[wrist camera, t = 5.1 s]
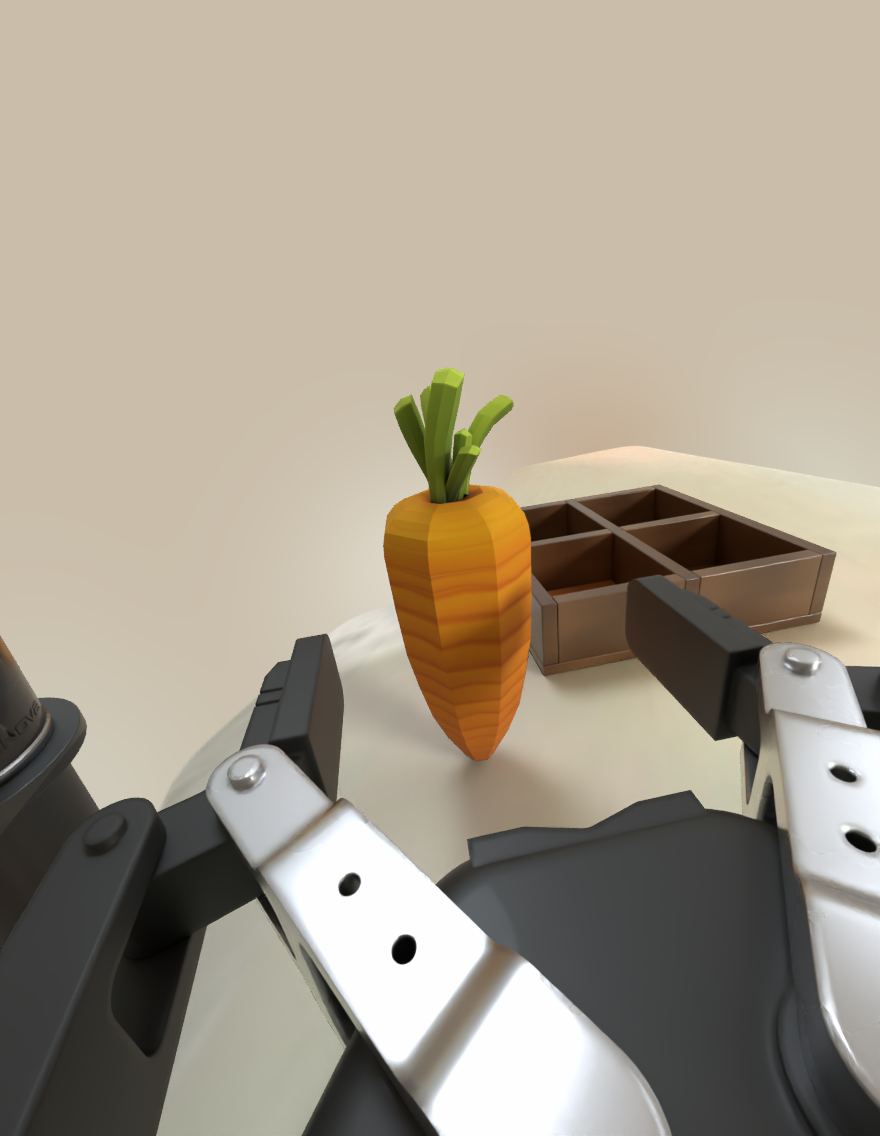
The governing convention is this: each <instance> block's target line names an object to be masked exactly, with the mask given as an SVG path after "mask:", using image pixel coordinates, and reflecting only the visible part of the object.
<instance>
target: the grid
mask: <svg viewBox="0 0 880 1136" xmlns="http://www.w3.org/2000/svg"><path fill="white" fill-rule="evenodd" d="M521 510H522V511H523V512H524V513H525V516H526V519H527V522H528V524H529V529H530V536H531V585H532V596H531V640H530V647H529V650H530V652H531V653H532V655H533V657H534V659H535V660H536V662H537V664H538V665H539V667H540V669H541V671H542V672H543V674H544V675H550V674H555V673H560V672H565V671H570V670H575V669H581V668H586V667H591V666H596V665H601V664H606V663H611V662H616V661H621V660H627V659H632V658H637V657H636V656H635V655H634V654H633V652H632V651H631V650H630V648H629V646H628V643H627V640H626V636H625V617H626V597H627V586H628V583H629V581H630V580H632V579H637V578H643V577H648V576H654V575H662V576H664V577H665V578H666V579H668V580H669V581H671V582H672V583H674V584H675V585H677V586H678V587H679V588H681V589H685V590H688V591H691V592H693V593H696V594H699V595H702V596H704V597H706V598H707V599H709V600H710V601H711V602H713V603H714V604H716V605H717V606H719V609H723V610H725V611H726V612H728V613H729V614H731V616H732V617H735V618H737V619H738V620H740V621H741V622H743V623H744V624H746V625H747V626H749V627H750V628H752V629H753V630H755V631H756V632H758V633H764V632H769V631H775V630H780V629H785V628H790V627H795V626H800V625H805V624H810V623H815V622H819V621H820V617H821V612H822V609H823V605H824V601H825V597H826V593H827V589H828V585H829V581H830V577H831V573H832V569H833V565H834V561H835V557H836V552H834V551H832V550H829V549H826V548H824V547H821V546H819V545H816V544H813V543H811V542H808V541H805V540H803V539H800V538H798V537H795V536H792V535H790V534H787V533H785V532H782V531H779V530H777V529H774V528H771V527H769V526H766V525H764V524H761V523H758V522H756V521H753V520H751V519H748V518H745V517H743V516H740V515H737V514H735V513H732V512H730V511H727V510H724V509H722V508H719V507H717V506H714V505H711V504H709V503H706V502H703V501H701V500H698V499H696V498H693V497H690V496H688V495H685V494H682V493H680V492H677V491H675V490H672V489H669V488H667V487H664V486H662V485H654V486H648V487H642V488H636V489H630V490H624V491H618V492H612V493H606V494H600V495H594V496H588V497H582V498H576V499H570V500H564V501H557V502H551V503H545V504H539V505H533V506H527V507H521Z"/></svg>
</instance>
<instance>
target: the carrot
mask: <svg viewBox="0 0 880 1136" xmlns="http://www.w3.org/2000/svg"><path fill="white" fill-rule="evenodd" d="M463 379H464V373H462V372H460V371H458V370H456V369H454V368H445V369H439V370H438V371H436V372H435V374H434V377H433V380H432V384H431V386H428V387H427V388H426V389H424V390H423V392H422V394H421V395H420V398H421V407H422V412H423V417H424V422H425V428H424V425H423V422H422V419H421V417H420V414H419V411H418V409H417V406H416V404H415V402H414V399H413V397H412V395H410V396H407V397H405V398H402V399H401V400H400V401H399V402H398V403H397V405H396V406H395V408H394V412H395V416H396V419H397V421H398V424H399V427H400V429H401V432H402V434H403V436H404V438H405V440H406V442H407V444H408V446H409V448H410V450H411V452H412V454H413V455H414V457H415V459H416V460H417V462H418V464H419V466H420V468H421V470H422V471H423V473H424V475H425V477H426V478H427V481H428V483H429V489H428V490H425V491H423V492H420V493H418V494H415V495H413V496H410V497H408V498H405V499H403V500H402V501H400V502H399V503H397V504H396V505H394V507H393V508H392V509H391V511H390V512H389V514H388V515H387V520H386V527H385V535H384V545H383V547H384V558H385V563H386V567H387V572H388V577H389V581H390V586H391V590H392V595H393V599H394V604H395V609H396V613H397V617H398V621H399V625H400V629H401V633H402V637H403V640H404V644H405V648H406V652H407V656H408V659H409V661H410V664H411V666H412V669H413V671H414V674H415V676H416V679H417V682H418V684H419V687H420V689H421V691H422V693H423V696H424V698H425V700H426V702H427V704H428V706H429V709H430V711H431V713H432V715H433V717H434V718H435V720H436V721H437V722H438V724H439V725H440V727H441V728H442V729H443V731H444V732H445V733H446V735H447V736H448V738H449V739H450V740H451V741H452V742H453V743H454V744H455V745H457V746H458V747H459V748H460V749H461V750H462V751H463V752H464V753H465V754H466V755H467V756H468V757H470V758H472V759H474V760H475V761H481V760H487V759H488V758H489V757H490V756H491V755H492V754H493V753H494V751H495V750H496V748H497V747H498V745H499V743H500V742H501V740H502V739H503V737H504V736H505V734H506V732H507V731H508V729H509V727H510V725H511V722H512V720H513V717H514V715H515V713H516V710H517V708H518V706H519V703H520V698H521V693H522V688H523V683H524V678H525V673H526V667H527V660H528V653H529V647H530V640H531V596H532V585H531V536H530V529H529V524H528V522H527V519H526V516H525V513H524V512H523V511H522V510H521V508H520V507H519V506H518V505H517V503H516V502H515V501H514V500H513V498H512V497H510V496H509V495H508V494H507V493H506V492H505V491H503V490H501V489H498V488H496V487H491V486H480V485H469V480H470V475H471V470H472V467H473V466H474V464H475V462H476V460H477V457H478V456H479V453H480V451H481V448H480V446H481V444H482V442H483V440H484V438H485V437H486V436H487V434H488V433H489V431H490V430H491V428H492V427H493V425H494V424H496V423H497V422H498V421H499V420H500V419H501V418H503V417H504V416H505V415H506V414H507V413H508V412H509V411H511V410H512V407H513V405H514V404H513V401H512V400H511V399H510V398H509V397H506V396H503V395H499V396H498V397H496V398H495V399H493V400H492V401H490V402H489V403H488V404H487V405H486V406H485V407H484V408H482V409H481V410H480V411H479V412H478V413H477V415H476V417H475V419H474V421H473V422H472V424H471V426H470V428H469V430H468V431H467V430H466V429H462V430H460V431H458V432H457V433H456V434H455V435H454V447H453V460H451V446H452V435H453V430H454V426H455V421H456V416H457V412H458V407H459V402H460V396H461V391H462V384H463Z"/></svg>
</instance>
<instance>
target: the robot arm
mask: <svg viewBox="0 0 880 1136" xmlns="http://www.w3.org/2000/svg"><path fill="white" fill-rule="evenodd" d="M625 636H626V640H627V643H628V646H629V648H630V650H631V651H632V652H633V654H634V655H635V656H636V657H637V658H638V659H639V660H640V661H641V662H642V663H643V664H644V665H645V667H646V668H647V669H648V670H649V671H650V672H651V673H652V674H653V675H654V676H655V677H656V678H657V679H658V680H659V681H660V683H661V684H662V685H663V686H664V687H665V688H666V689H667V690H668V691H669V692H670V693H671V694H672V695H673V696H674V697H675V699H676V700H677V701H678V702H679V703H680V704H681V705H682V706H683V707H684V708H685V709H686V710H687V711H688V712H689V714H690V715H691V716H692V717H693V718H694V719H695V720H696V721H697V722H698V723H699V724H700V725H701V726H702V727H703V728H704V730H705V731H706V732H707V733H708V734H709V735H710V736H711V737H712V738H713V739H714V740H715V741H717V740H722V739H727V738H731V737H736V736H738V737H739V738H740V739H741V740H742V746H741V751H740V764H741V792H742V815H740V814H736V813H731V812H727V811H721V810H713V809H705V808H704V807H703V806H702V804H701V803H700V802H699V800H698V799H697V798H696V797H695V795H694V794H693V793H692V791H691V790H688V791H684V792H679V793H675V794H670V795H666V796H661V797H657V798H652V799H648V800H643V801H638V802H636V803H634V804H632V805H630V806H629V807H627V808H625V809H623V810H621V811H619V812H618V813H616V814H614V815H612V816H610V817H608V818H607V819H605V820H603V821H601V822H599V823H597V824H596V825H594V826H591V827H589V828H548V827H520V828H516V829H511V830H507V831H502V832H498V833H493V834H489V835H484V836H480V837H475V838H471V839H467V842H468V849H469V856H470V860H468V861H466V862H464V863H462V864H461V865H459V866H458V867H456V868H455V869H453V870H452V871H451V872H449V873H448V874H447V875H445V876H444V877H443V878H442V879H441V880H440V881H439V882H438V883H437V884H436V885H435V884H434V883H433V882H432V881H431V880H430V879H429V878H428V877H427V876H426V875H425V874H424V873H423V872H421V871H420V870H419V869H418V868H417V867H416V866H415V865H414V864H413V863H412V862H411V861H410V860H409V859H408V858H407V857H406V856H405V855H404V854H403V853H402V852H401V851H400V850H399V849H398V848H397V847H396V846H395V845H394V844H393V843H392V842H391V841H390V840H389V839H388V838H387V837H386V836H385V835H384V834H383V833H382V832H380V831H379V830H378V829H377V828H376V827H375V826H374V825H373V824H372V823H371V822H370V821H369V820H368V819H367V818H366V817H365V816H364V815H363V814H362V813H361V812H360V811H359V810H358V809H357V808H356V807H355V806H354V805H353V804H352V803H350V802H349V801H348V800H346V799H344V798H340V799H339V800H338V801H337V802H336V800H337V787H338V775H339V762H340V749H341V737H342V724H343V711H344V698H343V690H342V684H341V680H340V677H339V673H338V669H337V665H336V661H335V658H334V654H333V650H332V646H331V643H330V639H329V637H328V635H327V634H322V635H317V636H311V637H306V638H300V639H297V640H296V643H295V646H294V650H293V653H292V657H291V660H288V661H283V662H278V663H277V664H276V665H275V666H274V667H273V668H272V670H271V671H270V672H269V673H268V674H267V675H266V676H265V678H264V681H263V684H262V687H261V690H260V695H259V696H258V698H257V701H256V707H254V710H253V713H252V716H251V719H250V722H249V724H248V727H247V730H246V733H245V736H244V739H243V742H242V745H241V748H240V750H239V751H238V752H236V753H235V754H233V755H231V756H230V757H228V758H227V759H226V760H224V761H223V762H222V763H221V764H220V765H219V766H218V767H217V768H216V769H215V771H214V772H213V773H212V775H211V776H210V778H209V780H208V783H207V786H206V790H204V791H202V792H201V793H199V794H197V795H195V796H193V797H190V798H188V799H186V800H184V801H181V802H179V803H177V804H175V805H172V806H170V807H168V808H166V809H163V810H161V811H159V812H157V811H156V809H155V808H154V806H153V804H152V803H151V802H150V801H149V800H147V799H144V798H129V799H124V800H121V801H118V802H116V803H113V804H111V805H109V806H107V807H105V808H103V809H101V810H99V811H98V812H96V813H94V814H93V815H92V816H90V817H89V818H88V819H86V820H85V821H84V822H83V823H81V824H80V825H79V826H78V827H77V828H76V829H75V830H74V831H73V832H72V833H71V834H70V836H69V837H68V838H67V839H66V841H65V842H64V844H63V845H62V847H61V848H60V850H59V852H58V853H57V855H56V857H55V858H54V860H53V862H52V863H51V865H50V867H49V868H48V870H47V872H46V874H45V875H44V877H43V879H42V880H41V882H40V884H39V885H38V887H37V889H36V890H35V892H34V894H33V895H32V897H31V899H30V901H29V902H28V904H27V906H26V907H25V909H24V911H23V912H22V914H21V916H20V917H19V919H18V921H17V922H16V924H15V926H14V928H13V929H12V931H11V933H10V934H9V936H8V938H7V939H6V941H5V943H4V944H3V946H2V948H1V949H0V1136H156V1134H157V1130H158V1126H159V1121H160V1117H161V1113H162V1109H163V1105H164V1101H165V1097H166V1092H167V1088H168V1084H169V1080H170V1076H171V1072H172V1068H173V1064H174V1059H175V1055H176V1051H177V1047H178V1043H179V1039H180V1035H181V1031H182V1026H183V1022H184V1018H185V1014H186V1010H187V1006H188V1002H189V998H190V993H191V989H192V985H193V981H194V977H195V973H196V969H197V964H198V960H199V956H200V952H201V948H202V944H203V940H204V936H205V931H206V927H207V925H209V924H210V923H212V922H214V921H216V920H218V919H220V918H221V917H223V916H225V915H227V914H229V913H230V912H232V911H234V910H236V909H238V908H239V907H241V906H243V905H245V904H247V903H248V902H250V901H252V900H254V899H256V901H257V902H258V904H259V905H260V907H261V909H262V910H263V912H264V914H265V915H266V917H267V918H268V920H269V922H270V923H271V925H272V927H273V928H274V930H275V932H276V933H277V935H278V936H279V938H280V940H281V941H282V943H283V945H284V946H285V948H286V949H287V951H288V953H289V954H290V956H291V958H292V959H293V961H294V963H295V964H296V966H297V967H298V969H299V971H300V972H301V974H302V976H303V978H304V979H305V981H306V983H307V985H308V986H309V988H310V990H311V992H312V994H313V996H314V998H315V1000H316V1001H317V1003H318V1005H319V1007H320V1009H321V1010H322V1012H323V1014H324V1016H325V1017H326V1019H327V1021H328V1023H329V1024H330V1026H331V1028H332V1029H333V1031H334V1033H335V1034H336V1036H337V1037H338V1039H339V1041H340V1042H341V1044H342V1046H343V1047H344V1049H345V1051H344V1053H343V1055H342V1057H341V1059H340V1061H339V1063H338V1065H337V1067H336V1069H335V1071H334V1073H333V1075H332V1077H331V1079H330V1080H329V1082H328V1084H327V1086H326V1088H325V1090H324V1092H323V1094H322V1096H321V1098H320V1100H319V1102H318V1104H317V1106H316V1108H315V1110H314V1112H313V1114H312V1116H311V1118H310V1120H309V1122H308V1124H307V1126H306V1128H305V1130H304V1132H303V1134H302V1136H880V667H864V666H845V665H844V664H843V663H842V662H841V661H840V660H838V659H837V658H836V657H834V656H833V655H831V654H829V653H827V652H825V651H823V650H820V649H817V648H814V647H811V646H807V645H803V644H797V643H773V642H771V641H770V640H768V639H767V638H765V637H764V636H762V635H761V634H759V633H758V632H756V631H755V630H753V629H752V628H750V627H749V626H747V625H746V624H744V623H743V622H741V621H740V620H738V619H737V618H735V617H732V616H731V614H729V613H728V612H726V611H725V610H723V609H719V606H717V605H716V604H714V603H713V602H711V601H710V600H709V599H707V598H706V597H704V596H702V595H699V594H696V593H693V592H691V591H688V590H685V589H681V588H679V587H678V586H677V585H675V584H674V583H672V582H671V581H669V580H668V579H666V578H665V577H664V576H662V575H654V576H648V577H643V578H637V579H632V580H630V581H629V583H628V586H627V597H626V617H625ZM53 730H54V720H53V718H52V716H51V715H50V713H49V711H48V710H47V708H46V707H45V706H43V705H41V703H40V701H39V700H38V698H37V696H36V695H35V693H34V691H33V690H32V688H31V686H30V685H29V683H28V681H27V680H26V678H25V676H24V675H23V673H22V671H21V670H20V667H19V666H18V664H17V662H16V661H15V659H14V657H13V656H12V654H11V653H10V651H9V649H8V648H7V646H6V644H5V643H4V641H3V639H2V638H1V636H0V787H1V786H3V785H4V784H5V783H7V782H8V781H9V780H11V779H12V778H13V777H14V776H16V775H17V774H18V773H19V772H20V771H21V770H23V769H24V768H25V767H26V766H27V765H28V764H29V763H30V762H31V761H32V760H33V759H34V758H35V757H36V756H37V755H38V754H39V753H40V752H41V750H42V749H43V748H44V747H45V745H46V744H47V742H48V741H49V739H50V737H51V735H52V733H53Z"/></svg>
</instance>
